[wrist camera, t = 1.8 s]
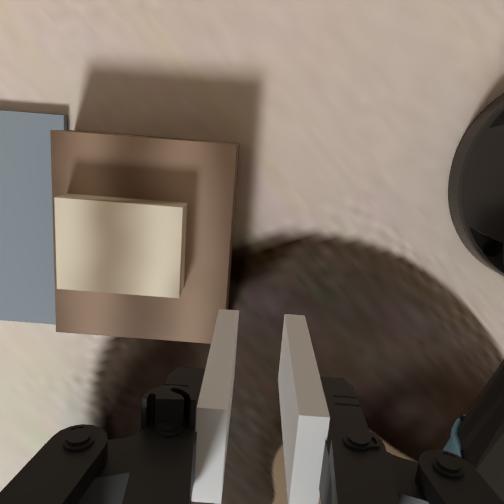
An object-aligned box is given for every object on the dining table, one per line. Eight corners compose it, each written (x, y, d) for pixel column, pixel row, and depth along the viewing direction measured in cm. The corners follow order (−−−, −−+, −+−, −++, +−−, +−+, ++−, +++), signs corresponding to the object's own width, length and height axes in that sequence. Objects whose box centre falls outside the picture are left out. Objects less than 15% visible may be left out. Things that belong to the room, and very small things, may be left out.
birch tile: (187, 202, 31) (182, 207, 29) (183, 288, 33) (179, 298, 31) (67, 193, 31) (54, 197, 29) (68, 279, 33) (56, 288, 31)
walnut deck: (239, 143, 34) (236, 144, 30) (227, 322, 37) (223, 344, 34) (74, 130, 34) (50, 130, 30) (77, 311, 37) (55, 331, 34)
